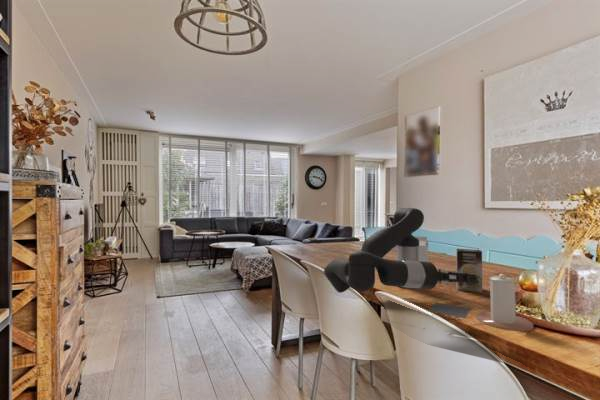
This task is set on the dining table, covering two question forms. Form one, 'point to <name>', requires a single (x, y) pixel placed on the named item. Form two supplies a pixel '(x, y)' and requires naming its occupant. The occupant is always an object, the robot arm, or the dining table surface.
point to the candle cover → (502, 299)
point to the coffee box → (469, 268)
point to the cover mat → (449, 310)
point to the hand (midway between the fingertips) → (465, 277)
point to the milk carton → (423, 249)
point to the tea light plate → (518, 326)
